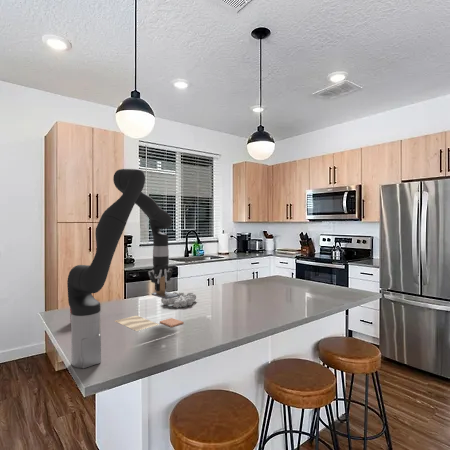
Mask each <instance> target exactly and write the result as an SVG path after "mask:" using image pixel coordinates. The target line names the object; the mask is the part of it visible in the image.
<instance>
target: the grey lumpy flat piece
mask: <svg viewBox="0 0 450 450" xmlns="http://www.w3.org/2000/svg"><path fill="white" fill-rule="evenodd" d="M172 293H173V294H177V295H179V297H174V298H169V299H164V298H161V301H160V302H161V303H162V304H163V305H165V306H168V305H172V307H173V308H176V309H178V308H180V307H181V308H185V307H186V306H192V305H193V304H194V302H195V301H196V300H197V295H196V294H194V292H188V293H184V292H183V291H179V292H177V291H173V292H172Z"/></svg>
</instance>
